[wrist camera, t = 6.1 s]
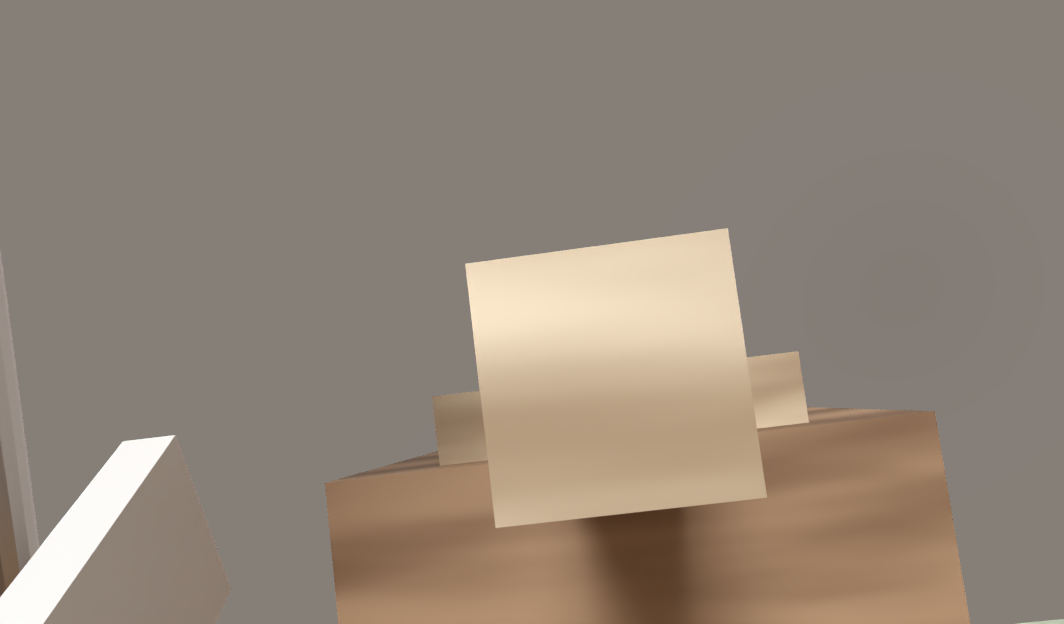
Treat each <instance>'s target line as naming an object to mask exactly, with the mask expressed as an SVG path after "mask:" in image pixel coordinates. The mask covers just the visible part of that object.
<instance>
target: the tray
mask: <svg viewBox="0 0 1064 624" xmlns="http://www.w3.org/2000/svg"><path fill="white" fill-rule="evenodd" d="M1019 624H1064V619H1060V620H1050V621H1039V622H1030V623H1019Z"/></svg>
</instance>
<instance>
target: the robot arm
mask: <svg viewBox="0 0 1064 624" xmlns="http://www.w3.org/2000/svg"><path fill="white" fill-rule="evenodd" d="M230 591H231V586H230V583H229V581H228V578H227V575H226V573H225V570H224V567H223V564H222V562H221V559H220V556H219V554H218V551H217V548H216V545H215V542H214V540H213V537H212V534H211V532H210V529H209V526H208V523H207V521H206V518H205V515H204V512H203V509H202V507H201V504H200V501H199V499H198V496H197V493H196V491H195V488H194V485H193V482H192V480H191V477H190V474H189V471H188V468H187V466H186V463H185V460H184V457H183V455H182V452H181V449H180V447H179V444H178V441H177V438H176V436H175V435H173V436H165V437H156V438H149V439H140V440H131V441H124V442H122V443H121V445H120V446H119V447H118V449H117V450H116V451H115V452H114V454H113V455H112V456H111V457H110V459H109V460H108V461H107V463H106V464H105V465H104V466H103V468H102V469H101V470H100V471H99V473H98V474H97V475H96V477H95V478H94V479H93V480H92V482H91V483H90V484H89V485H88V487H87V488H86V489H85V491H84V492H83V493H82V494H81V495H80V497H79V498H78V499H77V501H76V502H75V503H74V504H73V506H72V507H71V508H70V510H69V511H68V512H67V513H66V515H65V516H64V517H63V518H62V520H61V521H60V522H59V523H58V525H57V526H56V527H55V529H54V530H53V531H52V532H51V534H50V535H49V536H48V537H47V539H46V540H45V541H44V543H43V544H42V545H41V546H39V539H38V531H37V523H36V516H35V509H34V501H33V493H32V486H31V478H30V470H29V462H28V455H27V447H26V440H25V432H24V424H23V417H22V409H21V402H20V394H19V386H18V379H17V371H16V363H15V356H14V348H13V340H12V333H11V326H10V318H9V311H8V302H7V295H6V287H5V280H4V272H3V264H2V257H1V249H0V624H216V621H217V619H218V617H219V615H220V613H221V610H222V608H223V606H224V604H225V602H226V600H227V598H228V596H229V593H230Z"/></svg>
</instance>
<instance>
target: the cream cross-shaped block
mask: <svg viewBox="0 0 1064 624" xmlns="http://www.w3.org/2000/svg"><path fill="white" fill-rule="evenodd" d="M466 274H467V283H468V290H469V299H470V309H471V317H472V326H473V334H474V343H475V352H476V361H477V370H478V378H479V387H480V391H474V392H466V393H458V394H451V395H443V396H434V397H432V399H433V409H434V417H435V427H436V436H437V445H438V454H439V464H440V466H444V465H452V464H461V463H469V462H478V461H486V460H488V466H489V475H490V483H491V492H492V501H493V510H494V518H495V527H496V528H500V527H509V526H518V525H527V524H536V523H545V522H554V521H563V520H572V519H581V518H590V517H599V516H608V515H617V514H626V513H634V512H643V511H652V510H661V509H670V508H679V507H688V506H697V505H706V504H715V503H724V502H733V501H742V500H751V499H759V498H767V494H766V487H765V480H764V473H763V466H762V459H761V453H760V446H759V439H758V432H757V429H758V428H766V427H775V426H783V425H792V424H800V423H808V422H809V419H808V412H807V406H806V400H805V393H804V387H803V380H802V373H801V366H800V360H799V353H798V351H797V352H789V353H781V354H773V355H764V356H756V357H749V358H747V357H746V350H745V343H744V336H743V330H742V323H741V316H740V309H739V302H738V295H737V289H736V282H735V275H734V268H733V261H732V254H731V248H730V241H729V234H728V229H720V230H712V231H705V232H698V233H691V234H683V235H676V236H668V237H661V238H654V239H646V240H639V241H631V242H624V243H616V244H609V245H602V246H594V247H587V248H579V249H572V250H565V251H557V252H550V253H542V254H536V255H528V256H520V257H513V258H505V259H498V260H491V261H483V262H476V263H469V264H466Z"/></svg>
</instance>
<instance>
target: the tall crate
mask: <svg viewBox="0 0 1064 624" xmlns="http://www.w3.org/2000/svg"><path fill="white" fill-rule="evenodd" d="M807 412H808V419H809V422H808V423H800V424H792V425H783V426H775V427H766V428H758V429H757V432H758V439H759V446H760V453H761V459H762V466H763V473H764V480H765V487H766V494H767V498H759V499H751V500H742V501H733V502H724V503H715V504H706V505H697V506H688V507H679V508H670V509H661V510H652V511H643V512H634V513H626V514H617V515H608V516H599V517H590V518H581V519H572V520H563V521H554V522H545V523H536V524H527V525H518V526H509V527H500V528H496V527H495V518H494V510H493V501H492V492H491V483H490V475H489V466H488V460H486V461H478V462H469V463H461V464H452V465H444V466H440V464H439V454H438V451H437V452H434V453H430V454H426V455H423V456H419V457H416V458H412V459H409V460H405V461H402V462H398V463H394V464H391V465H388V466H384V467H380V468H377V469H373V470H370V471H366V472H363V473H359V474H355V475H352V476H348V477H345V478H341V479H338V480H334V481H331V482H327V483H325V487H326V497H327V508H328V519H329V529H330V540H331V550H332V561H333V570H334V582H335V592H336V602H337V613H338V624H970V620H969V614H968V608H967V602H966V596H965V590H964V584H963V578H962V572H961V566H960V561H959V554H958V548H957V542H956V536H955V530H954V524H953V518H952V512H951V506H950V500H949V494H948V488H947V482H946V477H945V470H944V464H943V458H942V453H941V446H940V440H939V434H938V429H937V422H936V416H935V412H934V411H907V410H876V409H843V408H815V407H807Z"/></svg>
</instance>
